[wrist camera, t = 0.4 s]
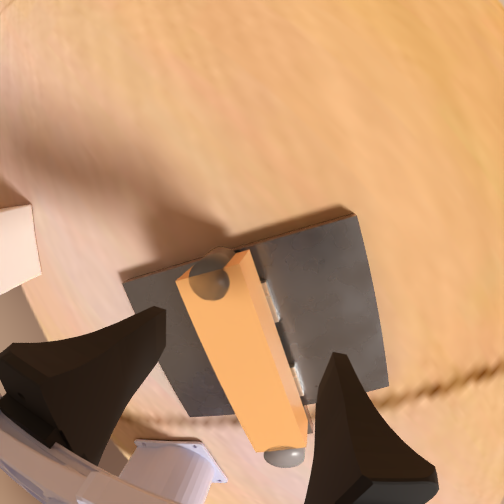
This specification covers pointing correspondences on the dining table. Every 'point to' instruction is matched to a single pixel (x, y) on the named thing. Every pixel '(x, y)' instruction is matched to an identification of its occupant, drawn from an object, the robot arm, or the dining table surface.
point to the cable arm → (246, 352)
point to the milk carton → (17, 247)
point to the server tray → (282, 314)
